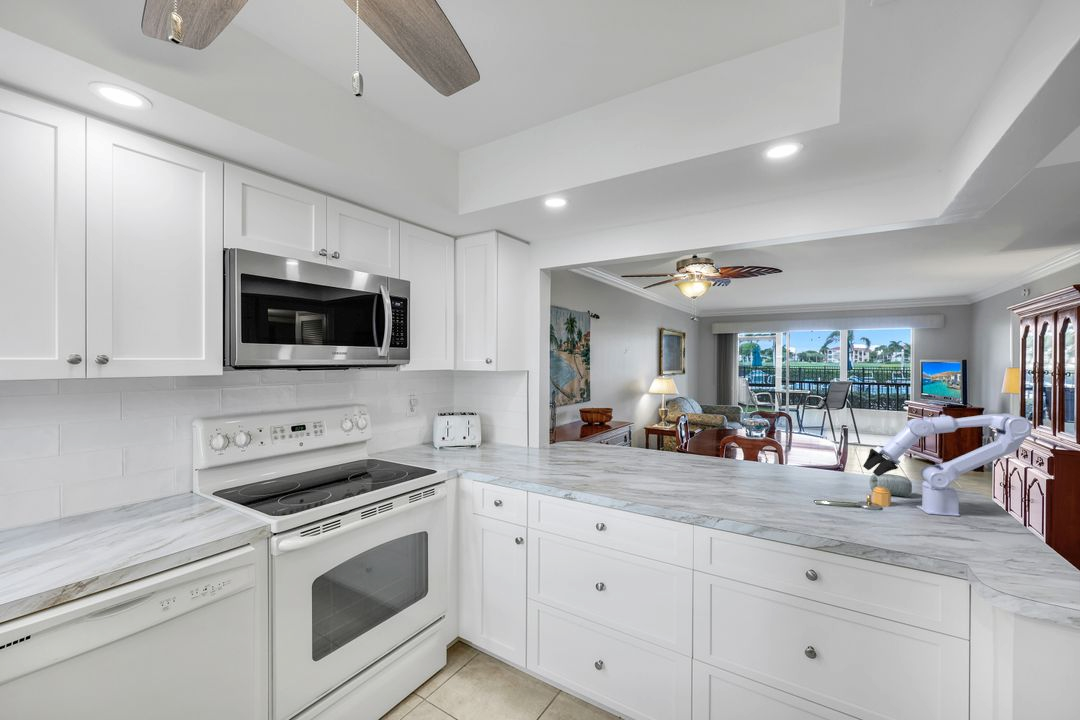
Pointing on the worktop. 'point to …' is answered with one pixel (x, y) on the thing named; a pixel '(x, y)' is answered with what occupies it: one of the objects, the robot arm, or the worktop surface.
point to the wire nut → (882, 496)
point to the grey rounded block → (892, 484)
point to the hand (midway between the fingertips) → (870, 471)
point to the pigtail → (852, 504)
